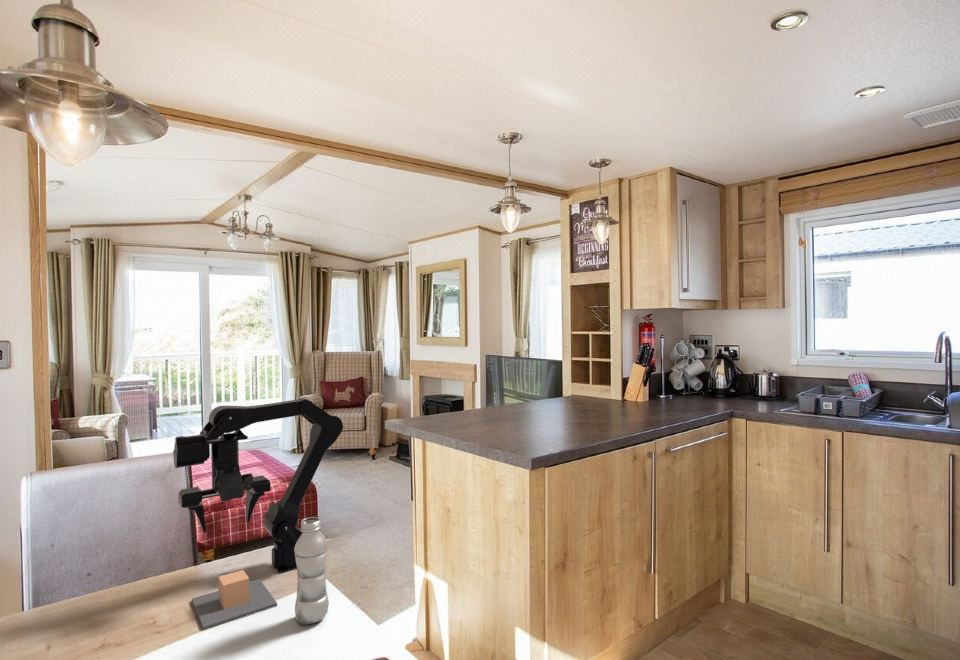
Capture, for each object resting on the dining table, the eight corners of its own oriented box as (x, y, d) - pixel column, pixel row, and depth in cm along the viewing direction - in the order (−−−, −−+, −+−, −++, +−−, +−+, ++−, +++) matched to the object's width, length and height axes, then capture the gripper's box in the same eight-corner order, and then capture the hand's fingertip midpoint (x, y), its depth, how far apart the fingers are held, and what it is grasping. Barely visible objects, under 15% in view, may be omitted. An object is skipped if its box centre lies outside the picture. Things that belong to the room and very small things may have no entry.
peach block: (243, 592, 115) (243, 569, 115) (249, 601, 111) (248, 578, 111) (218, 599, 112) (218, 576, 112) (223, 609, 108) (223, 585, 108)
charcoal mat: (259, 581, 121) (259, 578, 121) (277, 605, 110) (277, 603, 110) (191, 601, 113) (191, 598, 113) (203, 630, 102) (203, 626, 102)
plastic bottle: (287, 624, 103) (285, 523, 103) (313, 607, 109) (311, 512, 109) (311, 632, 100) (309, 529, 100) (336, 614, 106) (334, 517, 106)
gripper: (185, 475, 109) (186, 549, 109) (276, 460, 120) (278, 527, 120) (177, 464, 118) (178, 533, 118) (263, 451, 129) (264, 514, 129)
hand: (226, 527), depth 121 cm, fingers open, 9 cm apart
